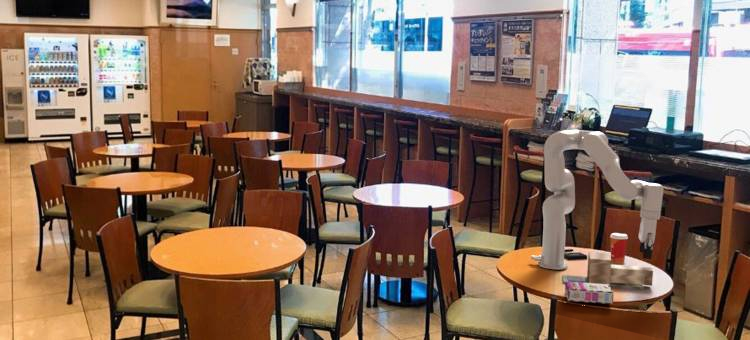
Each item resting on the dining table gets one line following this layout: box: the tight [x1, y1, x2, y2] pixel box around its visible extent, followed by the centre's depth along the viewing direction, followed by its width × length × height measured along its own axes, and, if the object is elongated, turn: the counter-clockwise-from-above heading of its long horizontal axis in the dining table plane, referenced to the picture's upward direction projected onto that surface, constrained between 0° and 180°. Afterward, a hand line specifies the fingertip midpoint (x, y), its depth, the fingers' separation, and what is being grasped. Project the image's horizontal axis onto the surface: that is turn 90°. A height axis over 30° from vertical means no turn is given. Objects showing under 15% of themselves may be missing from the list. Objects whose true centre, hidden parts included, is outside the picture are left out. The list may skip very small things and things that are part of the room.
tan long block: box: [562, 251, 644, 291], centre depth 292 cm, size 31×12×12 cm, turn 77°
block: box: [610, 263, 654, 286], centre depth 290 cm, size 16×6×6 cm, turn 77°
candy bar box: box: [564, 282, 614, 305], centre depth 271 cm, size 11×5×16 cm
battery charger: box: [564, 248, 588, 261], centre depth 331 cm, size 13×10×4 cm
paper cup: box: [609, 232, 629, 264], centre depth 324 cm, size 8×8×14 cm
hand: (645, 255), depth 288 cm, fingers open, 9 cm apart
